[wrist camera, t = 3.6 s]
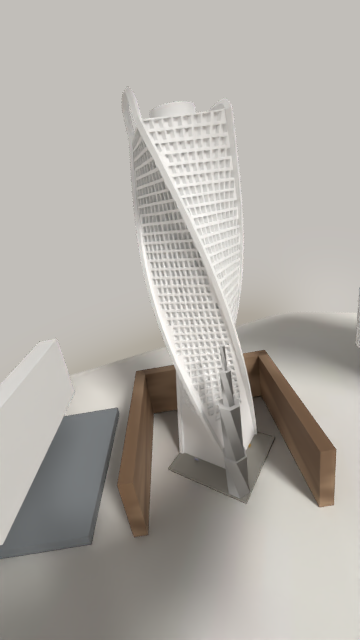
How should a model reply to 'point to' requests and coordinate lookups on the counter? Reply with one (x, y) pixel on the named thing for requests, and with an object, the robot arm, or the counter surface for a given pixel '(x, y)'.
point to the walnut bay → (265, 380)
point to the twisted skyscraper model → (197, 282)
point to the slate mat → (65, 487)
